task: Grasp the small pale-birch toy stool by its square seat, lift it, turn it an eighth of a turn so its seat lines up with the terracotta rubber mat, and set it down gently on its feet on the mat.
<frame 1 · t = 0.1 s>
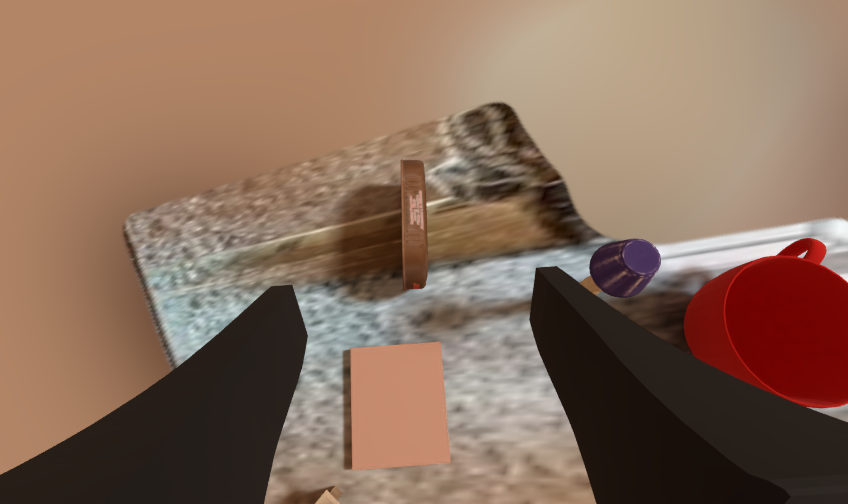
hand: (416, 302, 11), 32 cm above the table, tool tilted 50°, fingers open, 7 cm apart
tin: (415, 236, 46), on the table
mat: (399, 402, 40), on the table
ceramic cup: (721, 320, 42), on the table
toy lamp: (565, 297, 43), on the table
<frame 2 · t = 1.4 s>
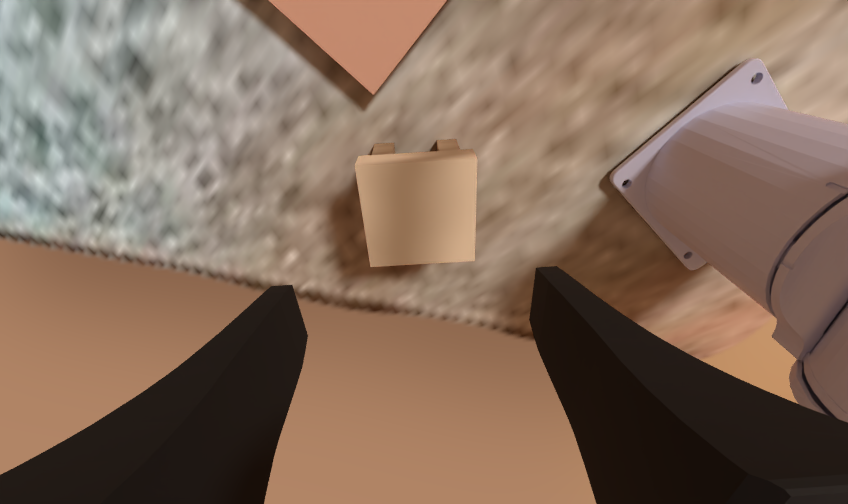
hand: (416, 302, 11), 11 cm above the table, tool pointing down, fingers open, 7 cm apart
toy stool: (417, 180, 20), on the table
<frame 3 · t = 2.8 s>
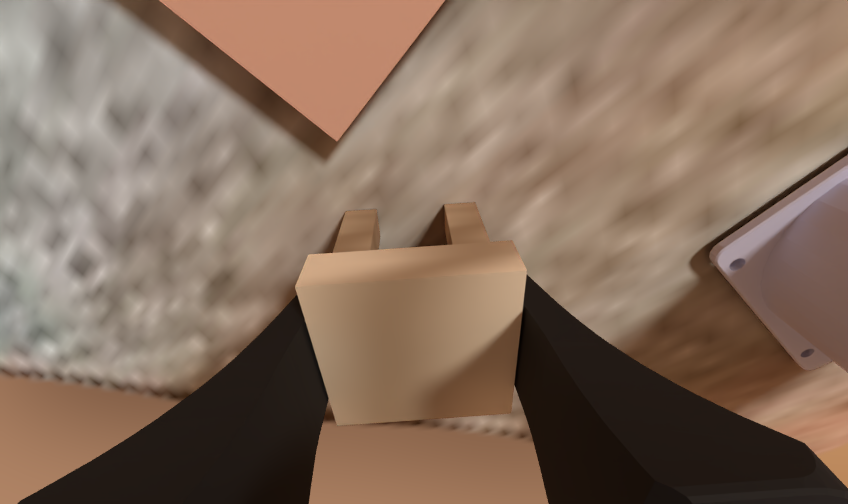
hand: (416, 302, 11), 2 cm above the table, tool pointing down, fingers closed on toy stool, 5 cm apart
toy stool: (414, 260, 13), on the table, touching gripper
when the fingers open (5 cm above the table, at t = 7.2 s): toy stool drops 1 cm, resting on mat.
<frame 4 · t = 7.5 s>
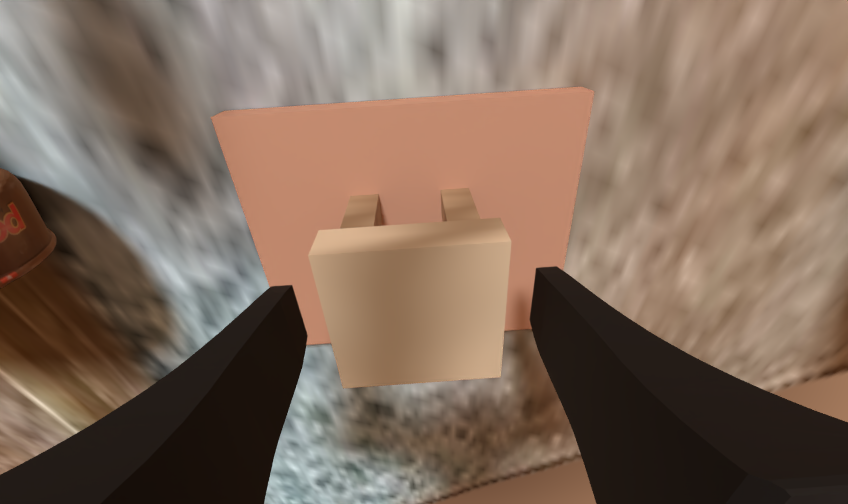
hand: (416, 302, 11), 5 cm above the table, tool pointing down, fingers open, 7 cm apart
toy stool: (413, 242, 14), point 1 cm above the table, touching mat
mat: (413, 229, 15), on the table
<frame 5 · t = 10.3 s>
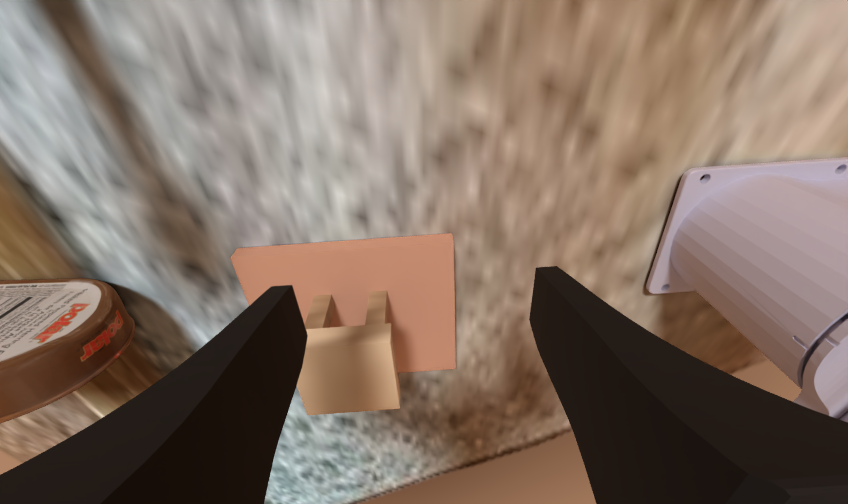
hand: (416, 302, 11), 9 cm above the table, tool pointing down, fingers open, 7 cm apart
toy stool: (356, 320, 22), point 1 cm above the table, touching mat
tin: (30, 289, 22), on the table
mat: (358, 309, 23), on the table
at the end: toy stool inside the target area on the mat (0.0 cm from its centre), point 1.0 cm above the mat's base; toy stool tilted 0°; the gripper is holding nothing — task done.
